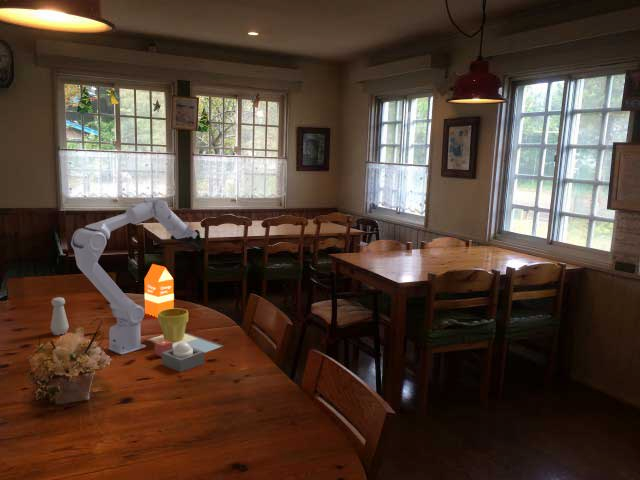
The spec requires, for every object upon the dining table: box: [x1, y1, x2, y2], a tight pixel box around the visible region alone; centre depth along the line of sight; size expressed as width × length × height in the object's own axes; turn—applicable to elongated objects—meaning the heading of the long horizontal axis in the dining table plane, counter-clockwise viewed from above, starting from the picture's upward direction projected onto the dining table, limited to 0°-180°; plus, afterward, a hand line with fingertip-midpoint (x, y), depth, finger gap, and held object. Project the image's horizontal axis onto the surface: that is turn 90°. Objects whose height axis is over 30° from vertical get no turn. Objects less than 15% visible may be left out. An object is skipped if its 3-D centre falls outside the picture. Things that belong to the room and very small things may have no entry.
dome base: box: [161, 347, 205, 373], centre depth 167 cm, size 9×9×4 cm
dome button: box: [173, 342, 193, 358], centre depth 167 cm, size 6×6×5 cm
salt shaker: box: [50, 296, 70, 336], centre depth 189 cm, size 6×6×13 cm
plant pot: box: [157, 307, 189, 342], centre depth 188 cm, size 10×10×10 cm
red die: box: [154, 340, 173, 358], centre depth 174 cm, size 4×4×4 cm
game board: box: [146, 332, 224, 354], centre depth 185 cm, size 14×24×1 cm, turn 53°
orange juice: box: [143, 263, 175, 319], centre depth 215 cm, size 8×9×20 cm
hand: (195, 245), depth 195 cm, fingers open, 7 cm apart
